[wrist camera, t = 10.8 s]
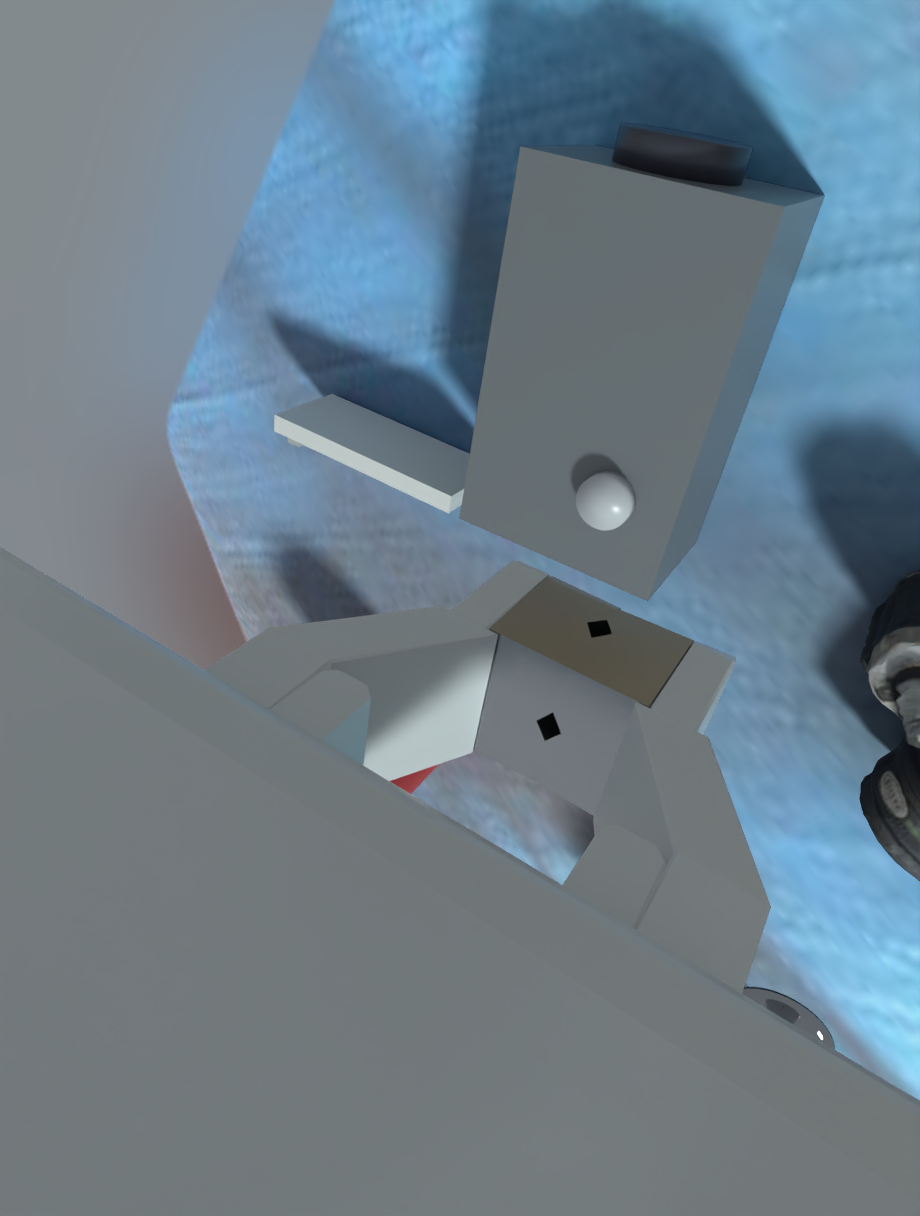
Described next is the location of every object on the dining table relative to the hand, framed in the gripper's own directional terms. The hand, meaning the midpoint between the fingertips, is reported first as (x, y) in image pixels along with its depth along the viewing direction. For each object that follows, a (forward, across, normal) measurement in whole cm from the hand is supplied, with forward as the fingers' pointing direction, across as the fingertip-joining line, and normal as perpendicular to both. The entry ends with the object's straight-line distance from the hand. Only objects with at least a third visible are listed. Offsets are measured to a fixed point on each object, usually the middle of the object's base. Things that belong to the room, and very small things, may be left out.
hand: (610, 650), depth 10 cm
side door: (+29, +22, +13) cm, 38 cm away
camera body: (+29, +9, +5) cm, 31 cm away
